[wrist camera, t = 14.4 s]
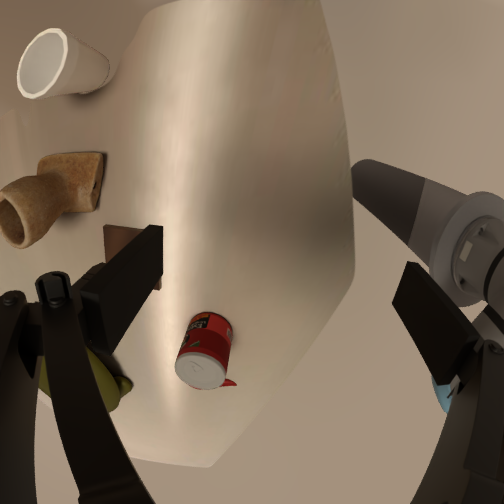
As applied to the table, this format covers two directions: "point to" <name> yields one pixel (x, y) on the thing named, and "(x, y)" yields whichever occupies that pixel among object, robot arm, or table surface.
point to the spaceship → (107, 384)
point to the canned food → (205, 352)
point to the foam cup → (60, 66)
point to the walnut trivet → (120, 242)
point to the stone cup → (49, 196)
